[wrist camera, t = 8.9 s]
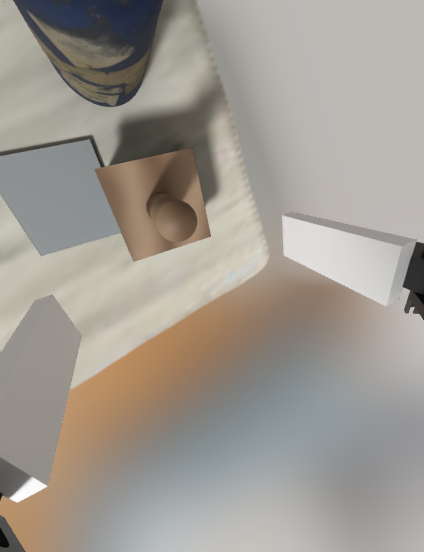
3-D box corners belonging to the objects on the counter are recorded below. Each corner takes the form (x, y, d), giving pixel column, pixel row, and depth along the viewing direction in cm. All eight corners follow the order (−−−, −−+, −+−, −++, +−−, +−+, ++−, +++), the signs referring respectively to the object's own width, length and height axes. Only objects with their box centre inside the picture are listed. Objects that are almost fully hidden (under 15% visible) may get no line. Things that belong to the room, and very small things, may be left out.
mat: (42, 254, 29) (40, 256, 29) (-19, 160, 24) (-23, 160, 23) (126, 229, 32) (127, 230, 32) (90, 139, 26) (89, 139, 26)
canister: (49, 92, 23) (-81, -52, 8) (41, -32, 20) (-200, -649, 5) (140, 121, 27) (165, 58, 12) (147, 22, 24) (192, -235, 9)
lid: (133, 257, 29) (138, 295, 20) (95, 169, 24) (80, 167, 15) (207, 233, 32) (241, 257, 23) (188, 148, 26) (223, 136, 17)
